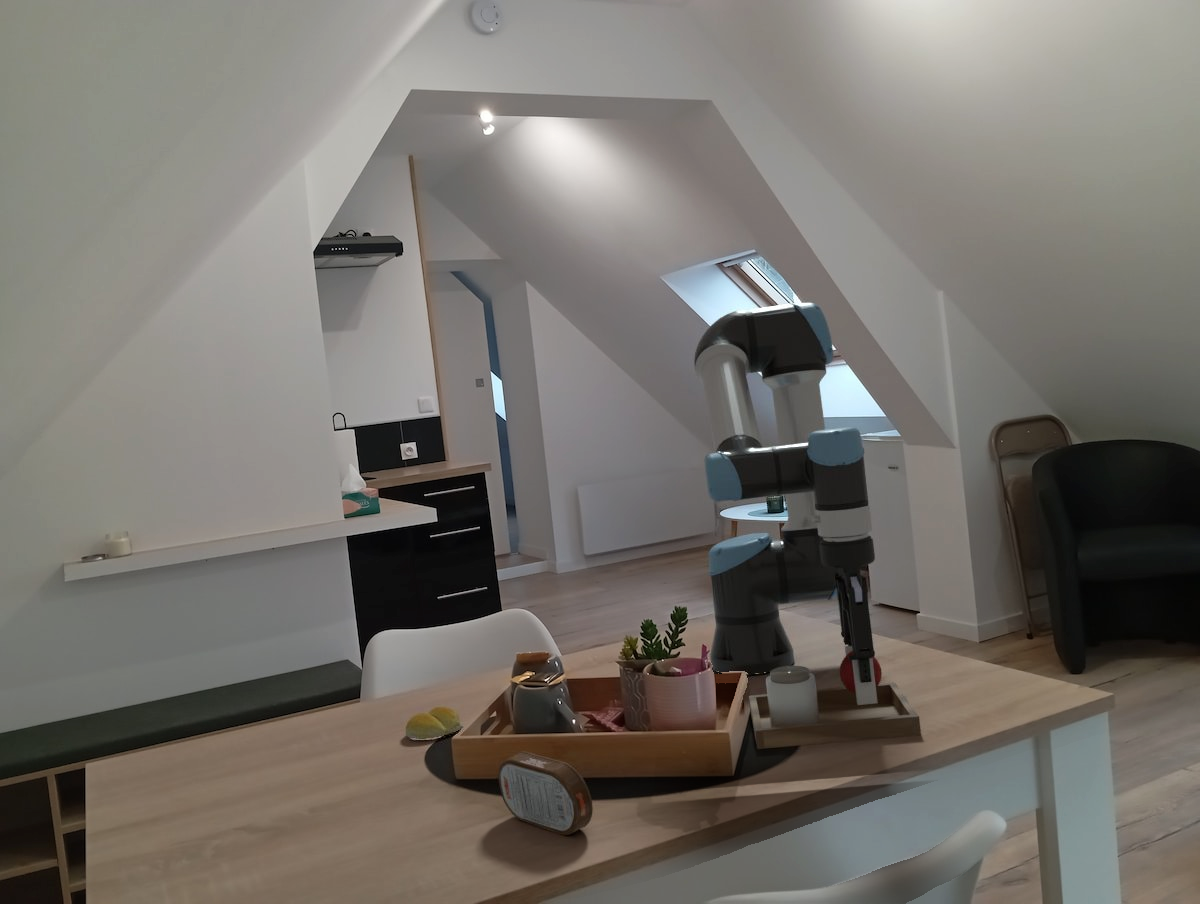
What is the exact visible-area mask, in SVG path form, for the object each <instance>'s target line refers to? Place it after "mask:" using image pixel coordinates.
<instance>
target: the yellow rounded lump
mask: <svg viewBox="0 0 1200 904" xmlns="http://www.w3.org/2000/svg"><path fill="white" fill-rule="evenodd" d="M462 727H463V723H462V722H461V719H460V717H459V714H458V712H456V711H455V710H454V709H452V708H450V707H447V706H437V707H433V708H432V709H431V710H429V712H427V713H425V712H424V713H418V714H415V715H412V717H410V718H409V720H408V721H407V724H406V727H405V734H406V737H407V736H408V737H409V738H416V739H417V738H418V739H426V738H434V737H439V736H443V735H446V734H449V733H452V732H456V731H458V730H459V731H460V730H461V729H462ZM459 731H458V732H459ZM456 733H457V732H456ZM408 737H407V738H408ZM409 738H408V739H409Z"/></svg>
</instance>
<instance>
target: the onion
mask: <svg viewBox="0 0 1200 904" xmlns="http://www.w3.org/2000/svg"><path fill="white" fill-rule="evenodd" d="M852 655H853V650H852V651H851V652H850V653H848V654H847V655H846V654H845V656H844V658H843V659H842V661H841V663H840V667H839V677H840V681H841V683H842V684H843V687H846V688H847V689H848V690H849V691H850V692H851V693H853V694H855V695H856V690H855V681H854V672H853V663H852V660H849V659H848V656H852ZM872 658H873V667H874V676H875V685H876V688H877V687H878V685H879V684H881V680H882V674H883V672H882V667H881V664H880V662H879V661H878V659H877V658H876V657H875V656H874V657H872Z"/></svg>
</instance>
